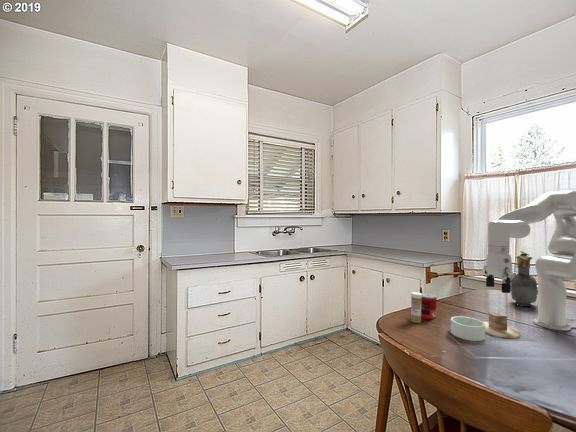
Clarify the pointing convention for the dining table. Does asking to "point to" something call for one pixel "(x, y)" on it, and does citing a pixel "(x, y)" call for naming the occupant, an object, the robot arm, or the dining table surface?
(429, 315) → the canned food
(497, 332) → the lid
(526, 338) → the mat
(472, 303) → the dining table surface
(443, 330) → the dining table surface
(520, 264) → the grey vase
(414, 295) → the sprinkles bottle
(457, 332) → the bowl
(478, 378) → the dining table surface
